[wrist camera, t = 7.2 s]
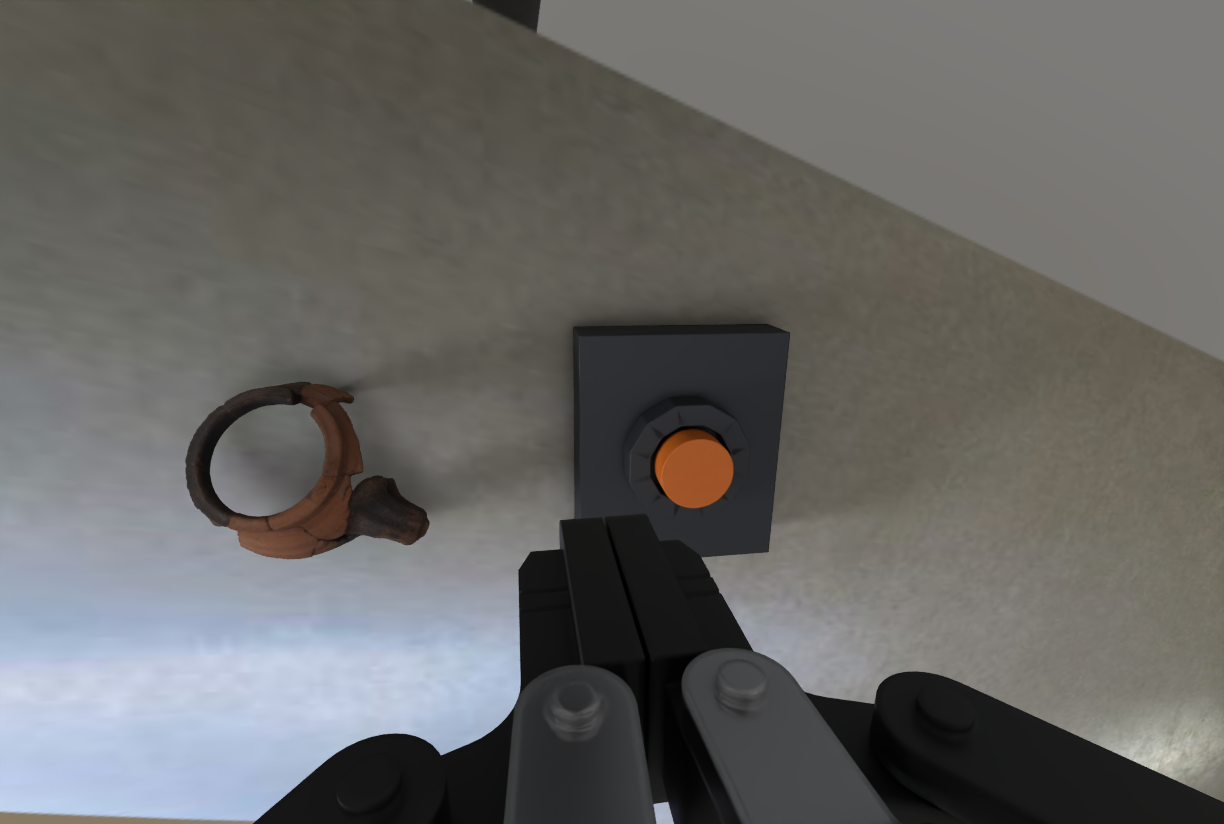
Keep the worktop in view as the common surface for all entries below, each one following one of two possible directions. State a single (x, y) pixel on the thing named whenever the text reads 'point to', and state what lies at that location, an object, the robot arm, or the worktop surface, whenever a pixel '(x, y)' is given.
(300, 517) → the broken clay vessel
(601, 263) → the worktop surface
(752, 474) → the push button base
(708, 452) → the power button
